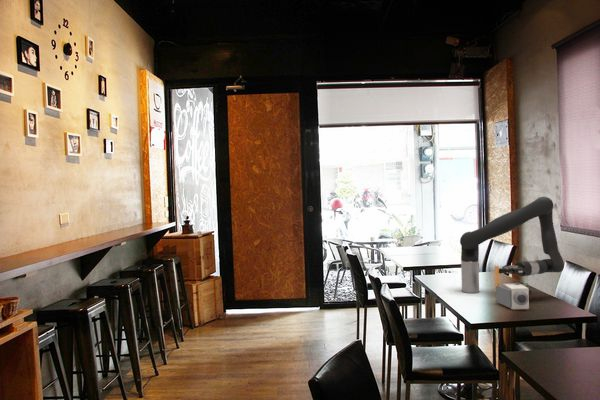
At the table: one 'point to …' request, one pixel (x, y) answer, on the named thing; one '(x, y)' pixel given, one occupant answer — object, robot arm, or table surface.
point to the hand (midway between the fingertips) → (498, 271)
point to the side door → (502, 291)
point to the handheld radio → (526, 286)
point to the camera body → (518, 295)
